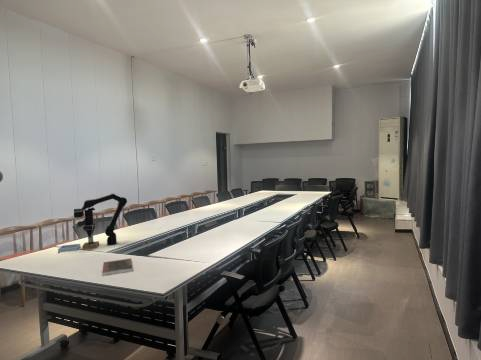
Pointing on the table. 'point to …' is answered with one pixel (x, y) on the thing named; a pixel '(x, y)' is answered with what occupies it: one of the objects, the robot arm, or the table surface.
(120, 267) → the picture frame
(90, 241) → the pin
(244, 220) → the table surface
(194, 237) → the table surface
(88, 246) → the socket block
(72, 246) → the tray
